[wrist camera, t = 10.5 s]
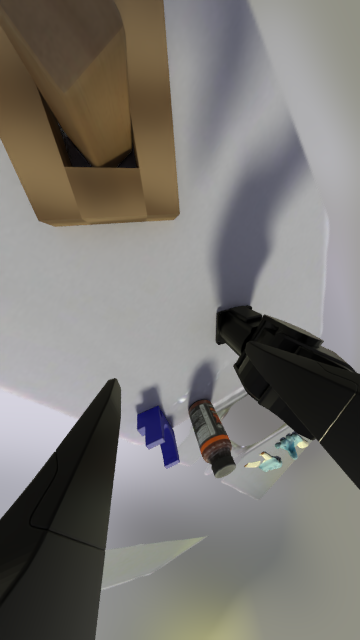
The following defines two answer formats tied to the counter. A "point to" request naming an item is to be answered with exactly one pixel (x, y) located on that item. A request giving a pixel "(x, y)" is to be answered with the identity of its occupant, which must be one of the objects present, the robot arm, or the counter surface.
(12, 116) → the socket collar
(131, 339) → the counter surface
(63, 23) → the wooden block
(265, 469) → the rubber gloves
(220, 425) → the supplement bottle
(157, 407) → the cable clip
